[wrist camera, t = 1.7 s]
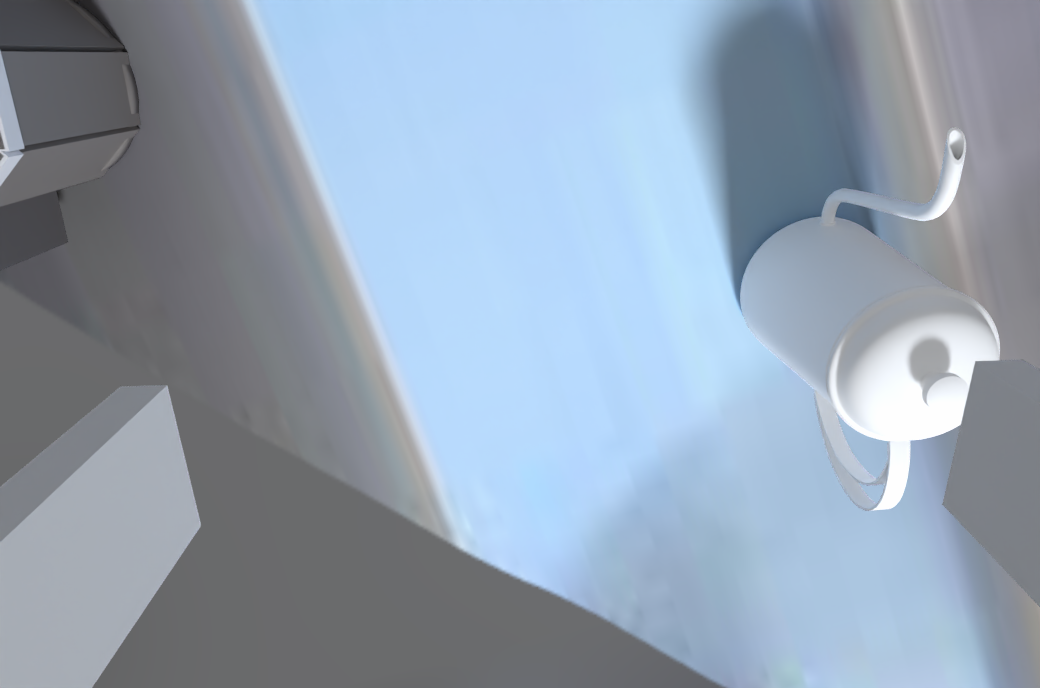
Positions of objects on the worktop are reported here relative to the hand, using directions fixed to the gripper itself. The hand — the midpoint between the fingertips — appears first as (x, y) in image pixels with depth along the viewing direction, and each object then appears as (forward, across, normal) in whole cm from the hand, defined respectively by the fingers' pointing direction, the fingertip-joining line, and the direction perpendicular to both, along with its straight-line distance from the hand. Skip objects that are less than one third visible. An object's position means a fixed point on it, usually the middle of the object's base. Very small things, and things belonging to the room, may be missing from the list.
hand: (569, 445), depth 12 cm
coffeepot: (+41, +21, -10) cm, 47 cm away
